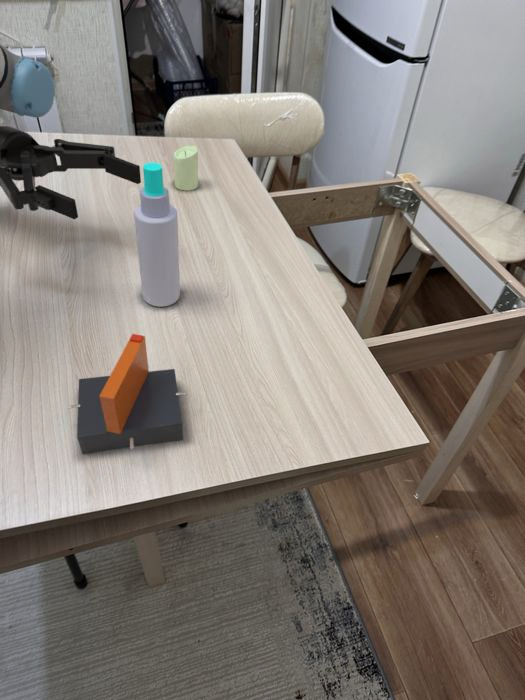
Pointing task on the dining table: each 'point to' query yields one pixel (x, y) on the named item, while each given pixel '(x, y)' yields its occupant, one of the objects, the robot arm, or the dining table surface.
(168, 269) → the spray bottle
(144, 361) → the orange toy brick
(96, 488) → the dining table surface
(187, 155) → the candle
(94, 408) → the dark square tile
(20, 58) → the robot arm
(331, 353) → the dining table surface
